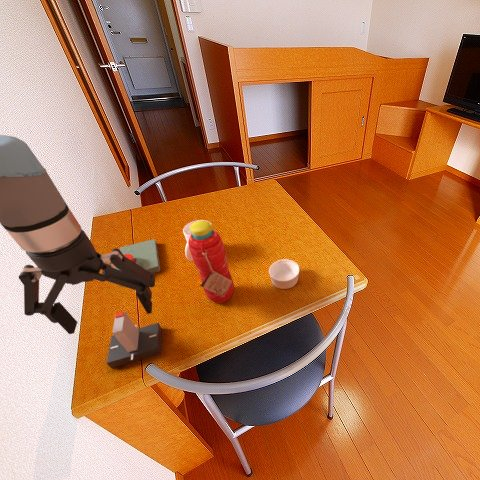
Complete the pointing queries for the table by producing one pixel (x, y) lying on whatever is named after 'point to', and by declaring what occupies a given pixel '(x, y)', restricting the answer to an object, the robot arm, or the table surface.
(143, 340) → the panel
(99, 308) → the table surface
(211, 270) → the water bottle
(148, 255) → the housing
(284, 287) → the ramekin
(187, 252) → the mug
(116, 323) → the knob
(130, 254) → the button
